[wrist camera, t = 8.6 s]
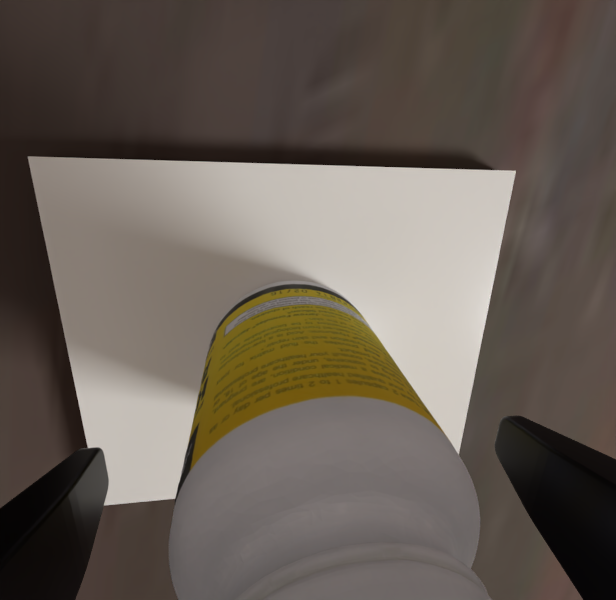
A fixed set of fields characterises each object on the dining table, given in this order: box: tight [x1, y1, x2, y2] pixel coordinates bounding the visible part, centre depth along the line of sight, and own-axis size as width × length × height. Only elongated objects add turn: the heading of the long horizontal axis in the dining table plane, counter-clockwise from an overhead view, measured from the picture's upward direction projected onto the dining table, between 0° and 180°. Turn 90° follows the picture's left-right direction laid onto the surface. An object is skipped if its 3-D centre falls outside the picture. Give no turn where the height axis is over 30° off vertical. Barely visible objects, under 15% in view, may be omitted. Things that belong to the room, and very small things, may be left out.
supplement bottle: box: [169, 280, 491, 600], centre depth 8 cm, size 5×5×10 cm
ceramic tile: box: [28, 156, 516, 505], centre depth 13 cm, size 14×12×1 cm
